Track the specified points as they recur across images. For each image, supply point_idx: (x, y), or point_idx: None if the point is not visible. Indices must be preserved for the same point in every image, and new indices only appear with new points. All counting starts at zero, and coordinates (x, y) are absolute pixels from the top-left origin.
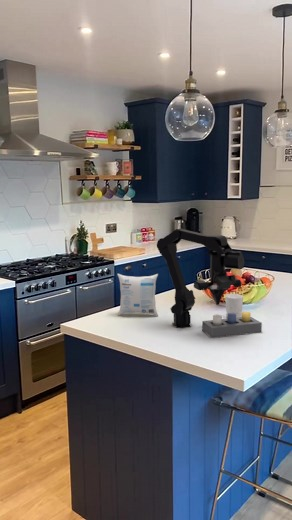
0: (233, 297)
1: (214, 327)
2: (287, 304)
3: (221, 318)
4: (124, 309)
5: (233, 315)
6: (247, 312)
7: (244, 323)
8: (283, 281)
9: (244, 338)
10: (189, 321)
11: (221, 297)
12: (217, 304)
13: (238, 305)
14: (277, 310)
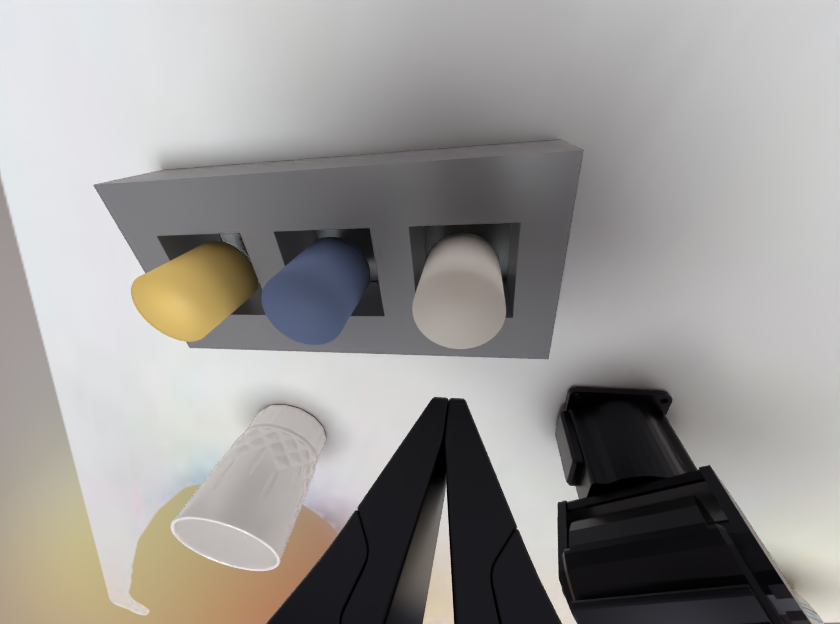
0: (240, 541)
1: (545, 167)
2: (75, 466)
3: (426, 273)
4: (817, 620)
5: (293, 273)
6: (159, 315)
7: (235, 208)
8: (114, 580)
9: (298, 46)
10: (572, 423)
11: (363, 500)
12: (457, 399)
13: (231, 468)
14: (104, 433)
